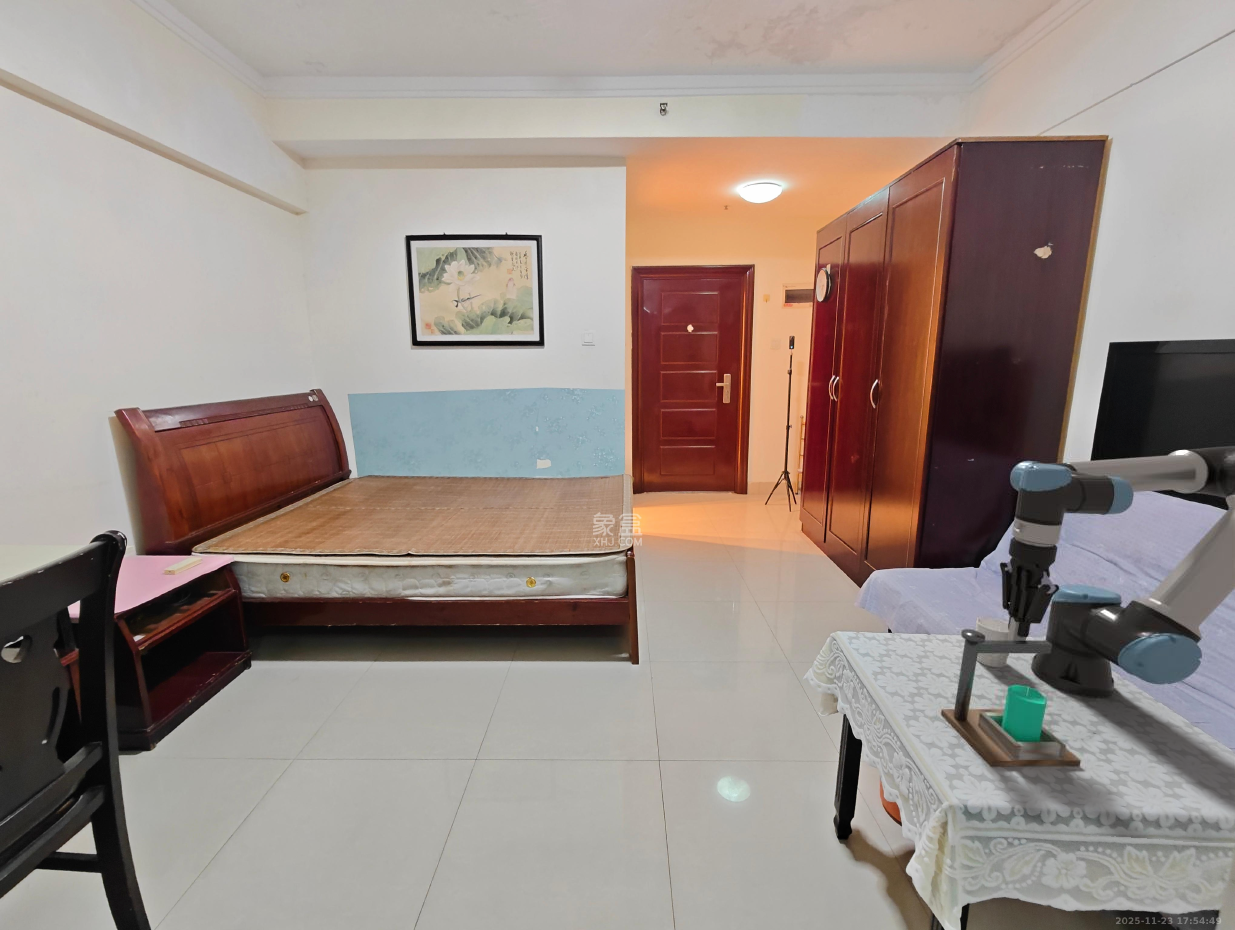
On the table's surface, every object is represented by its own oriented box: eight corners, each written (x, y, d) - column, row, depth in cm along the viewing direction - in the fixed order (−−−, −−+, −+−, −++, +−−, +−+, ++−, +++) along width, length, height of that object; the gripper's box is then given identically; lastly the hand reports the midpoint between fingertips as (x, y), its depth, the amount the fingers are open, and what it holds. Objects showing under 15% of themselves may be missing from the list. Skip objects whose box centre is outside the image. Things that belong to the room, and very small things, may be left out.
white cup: (1015, 671, 131) (1021, 633, 129) (979, 667, 132) (985, 630, 130) (999, 654, 138) (1005, 618, 136) (965, 650, 140) (971, 615, 138)
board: (1018, 714, 114) (1021, 696, 114) (1079, 766, 100) (1083, 746, 99) (940, 714, 114) (943, 696, 113) (991, 766, 99) (994, 746, 98)
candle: (1011, 750, 102) (1021, 694, 99) (993, 729, 107) (1002, 676, 105) (1045, 753, 101) (1056, 697, 99) (1025, 732, 107) (1035, 678, 105)
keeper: (1027, 710, 113) (1042, 629, 110) (1042, 723, 109) (1059, 639, 106) (944, 710, 113) (957, 629, 109) (957, 723, 109) (970, 639, 105)
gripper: (992, 530, 113) (976, 632, 118) (1041, 551, 101) (1020, 665, 105) (1027, 530, 114) (1009, 632, 118) (1080, 552, 101) (1058, 665, 105)
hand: (1015, 647), depth 112 cm, fingers closed
